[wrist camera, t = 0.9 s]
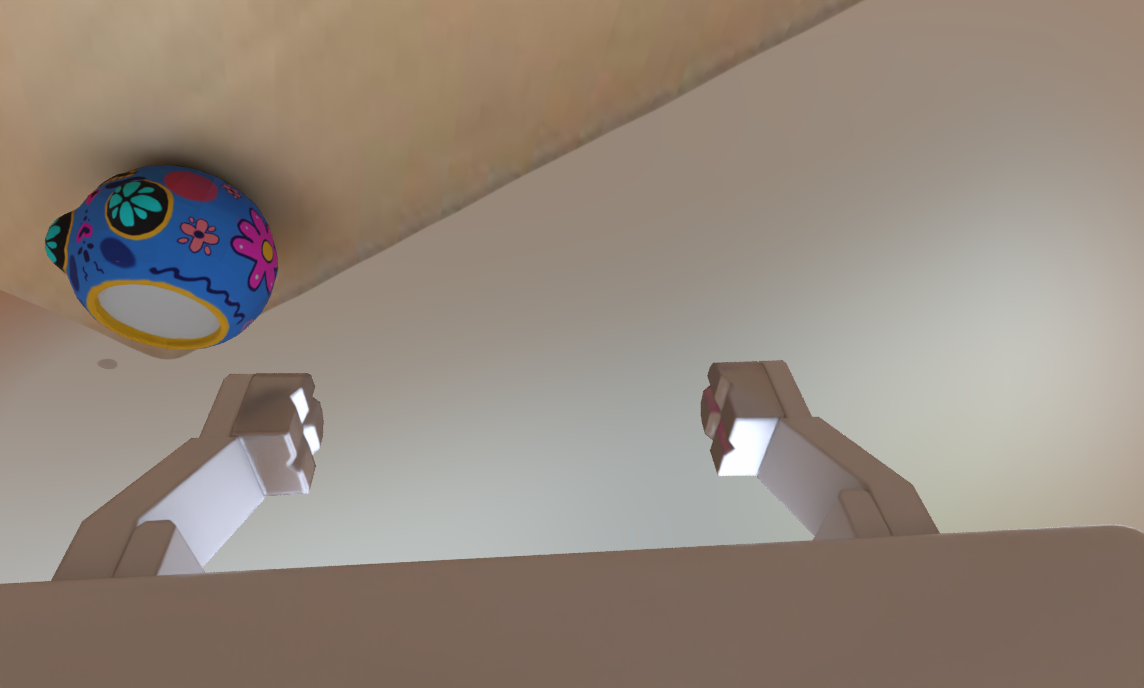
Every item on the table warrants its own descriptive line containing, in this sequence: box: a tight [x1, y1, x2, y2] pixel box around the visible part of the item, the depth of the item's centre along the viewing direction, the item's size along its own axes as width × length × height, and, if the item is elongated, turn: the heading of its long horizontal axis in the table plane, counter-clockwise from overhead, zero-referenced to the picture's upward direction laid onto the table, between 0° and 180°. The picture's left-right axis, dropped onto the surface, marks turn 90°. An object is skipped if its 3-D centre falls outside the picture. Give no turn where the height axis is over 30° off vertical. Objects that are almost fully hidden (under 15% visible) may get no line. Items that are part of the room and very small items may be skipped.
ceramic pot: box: [45, 165, 278, 350], centre depth 65 cm, size 18×18×15 cm
